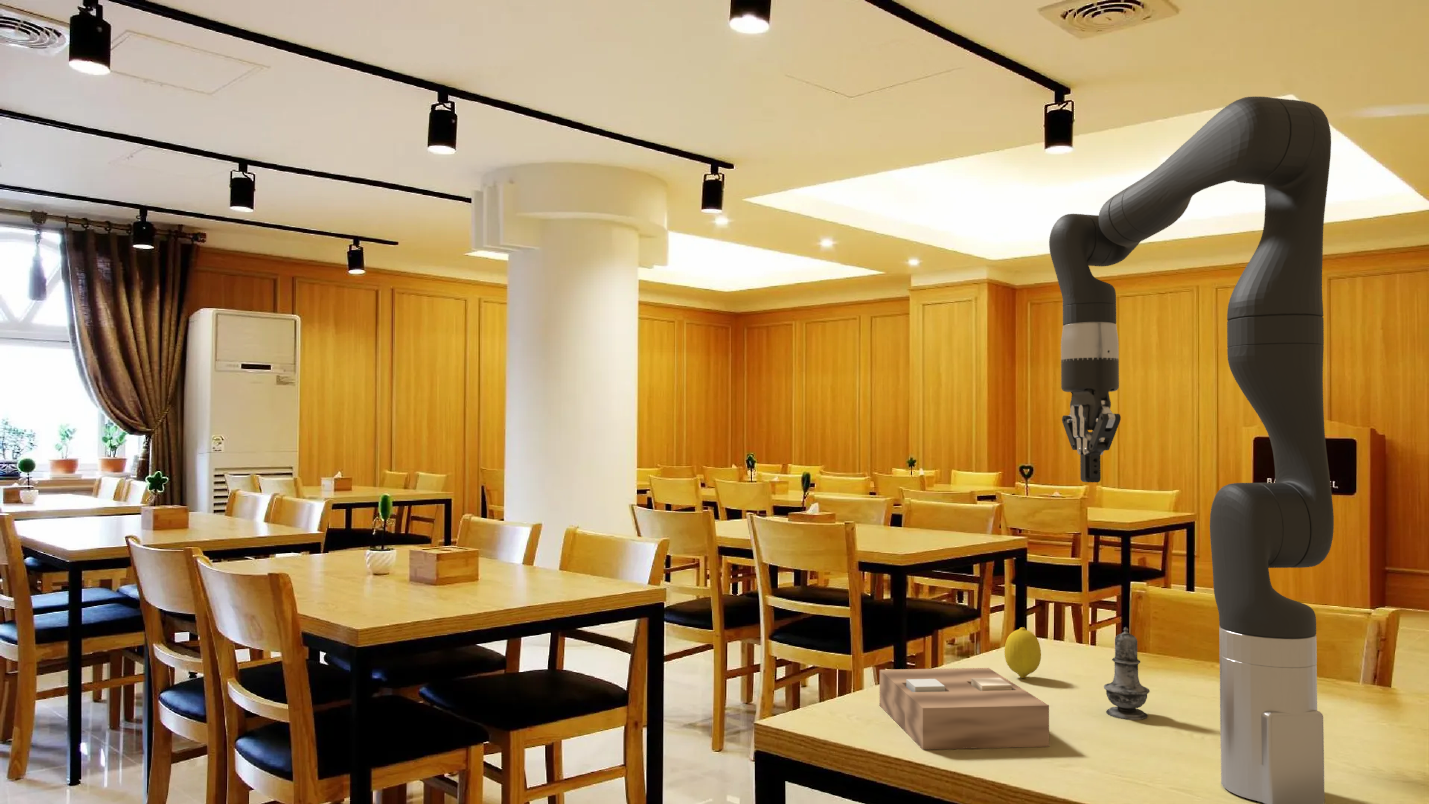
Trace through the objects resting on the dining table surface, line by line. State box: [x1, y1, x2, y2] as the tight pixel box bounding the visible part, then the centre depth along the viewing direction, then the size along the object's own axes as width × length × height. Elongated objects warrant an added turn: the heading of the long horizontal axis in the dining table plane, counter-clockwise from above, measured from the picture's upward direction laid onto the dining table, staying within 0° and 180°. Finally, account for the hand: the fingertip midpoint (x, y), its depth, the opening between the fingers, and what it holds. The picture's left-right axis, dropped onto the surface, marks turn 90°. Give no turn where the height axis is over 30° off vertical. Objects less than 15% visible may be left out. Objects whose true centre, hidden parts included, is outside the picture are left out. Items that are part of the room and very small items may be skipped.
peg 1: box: [906, 679, 945, 692], centre depth 131 cm, size 4×4×5 cm
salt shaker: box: [1103, 626, 1151, 721], centre depth 137 cm, size 6×6×12 cm
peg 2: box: [971, 678, 1012, 691], centre depth 132 cm, size 4×4×5 cm
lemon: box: [1003, 626, 1042, 679], centre depth 157 cm, size 6×6×8 cm
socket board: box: [879, 667, 1050, 750], centre depth 132 cm, size 20×16×5 cm
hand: (1090, 481), depth 138 cm, fingers closed
